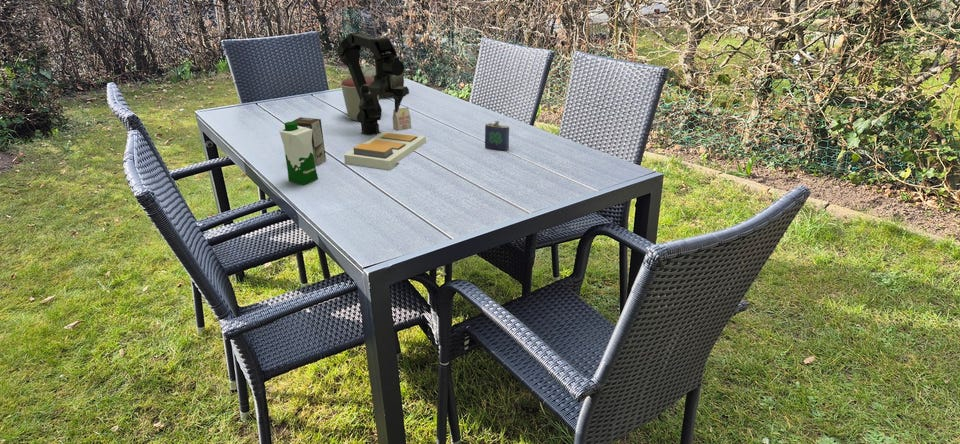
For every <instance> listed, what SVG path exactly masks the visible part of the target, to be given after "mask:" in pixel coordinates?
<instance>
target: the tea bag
mask: <svg viewBox="0 0 960 444" xmlns="http://www.w3.org/2000/svg"><path fill="white" fill-rule="evenodd" d="M411 120H412V118H411V112H410V110H409V107H408V106H407V107H406V106H405V107H399V109H398V112H397V113H396V112H395V108H393V114H392V127H393V130H395V131H398V132H399V131H404V130H408V129H409V130H410V129H412V121H411Z"/></svg>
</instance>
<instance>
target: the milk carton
mask: <svg viewBox="0 0 960 444" xmlns="http://www.w3.org/2000/svg"><path fill="white" fill-rule="evenodd" d="M312 131H313V129H309V128H306V127H301V126H297V122H292V121H286V122H284V129H281V130H279V135H280V138H281V141H282V144H283V150H284V156H285V162H286V168H287V175H288V176H287V177H288V178H287V179H288V182H291V183H295V184H297V185H300V186H304V185H306V184H309V183H312V182H314V181H317V180H318V179H319V177H318V173H317V169H316V167H317V166H315V162H314V155H313V148H312Z"/></svg>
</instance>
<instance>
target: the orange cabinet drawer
mask: <svg viewBox="0 0 960 444" xmlns="http://www.w3.org/2000/svg"><path fill="white" fill-rule="evenodd" d="M394 133H395V132H393V133H387V134H385V135H383V136H382V137H381V138H383V139H390V140H398V141H406V142H412V141H413V140H415V139H416V138H417V136H418V135H417V136H410V135H411V134H409V135H402V134H403V133H401V134H394Z"/></svg>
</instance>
